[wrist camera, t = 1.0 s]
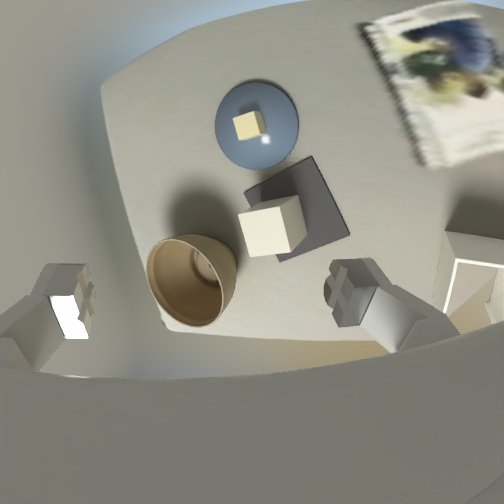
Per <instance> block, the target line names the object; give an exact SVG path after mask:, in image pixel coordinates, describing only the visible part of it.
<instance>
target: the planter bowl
mask: <svg viewBox="0 0 504 504" xmlns="http://www.w3.org/2000/svg"><path fill="white" fill-rule="evenodd" d="M209 264H210V265H211V266H210V265H209ZM236 269H237V266H236V260H235V257H234V255H233V253H232V252H231V250H230V249H229V248H228V247H227V246H226V245H225V244H224V243H222V242H221V241H219V240H216V239H211V238H209V237H206V236H203V235H197V234H184V235H179V236H175V237H172V238H168V239H164V240H162V241H160V242H158V243H157V244H155V245H154V246H153V247H152V249H151V250H150V252H149V254H148V257H147V261H146V277H147V281H148V284H149V287H150V290H151V292H152V294H153V296H154V298H155V300H156V301H157V303H158V304H159V305H160V307H161V308H162V309H163V310H164V311H165V312H166V313H167V314H168V315H169V316H170V317H172V318H173V319H174V320H176V321H177V322H179V323H181V324H183V325H186V326H189V327H194V328H203V327H207V326H209V325H211V324H213V323H214V322H215V321H216V320H217V319H218V318H219V317H220V315H221V314H222V312H223V311H224V310H225V308H226V307H227V305H228V304H229V302H230V300H231V298H232V296H233V293H234V290H235V284H236Z"/></svg>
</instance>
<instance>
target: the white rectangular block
mask: <svg viewBox="0 0 504 504" xmlns="http://www.w3.org/2000/svg"><path fill="white" fill-rule="evenodd" d="M238 217H239V220H240V224H241V227H242V231H243V234H244V238H245V241H246V245H247V248H248V252H249V255H250V257H254V256H263V255H272V254H281V253H289V252H292V251H293V250H294V248H295V247H296V246H297V245H298V244H299V243H300V242H301V241H302V240H303V239H304V238H305V237H306V236H307V229H306V225H305V221H304V217H303V213H302V208H301V204H300V200H299V196H298V195H294V196H289V197H284V198H279V199H274V200H269V201H264V202H260V203H258V204H257V205H255V206H253V207H251V208H249V209H247V210H245V211H243V212H241V213H239V214H238Z"/></svg>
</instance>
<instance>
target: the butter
mask: <svg viewBox="0 0 504 504" xmlns="http://www.w3.org/2000/svg"><path fill="white" fill-rule="evenodd" d="M233 121H234V125H235V128H236V132H237V136H238V139H239V140H248V139H251V138H254V137H257V136H261V135H264V134H267V132H266V129H265V125H264V122H263V118H262V115H261V112H258V111H252V112H249V113H246V114H243V115H241V116H238V117H235V118H233Z"/></svg>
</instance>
